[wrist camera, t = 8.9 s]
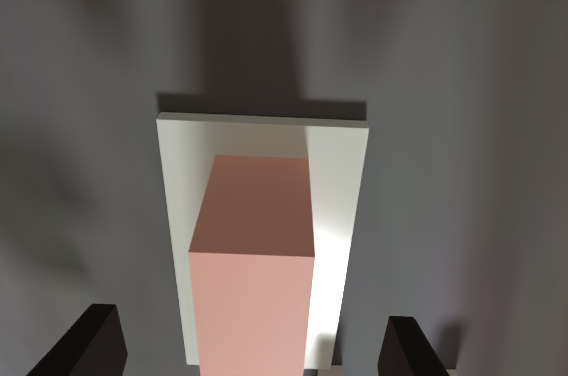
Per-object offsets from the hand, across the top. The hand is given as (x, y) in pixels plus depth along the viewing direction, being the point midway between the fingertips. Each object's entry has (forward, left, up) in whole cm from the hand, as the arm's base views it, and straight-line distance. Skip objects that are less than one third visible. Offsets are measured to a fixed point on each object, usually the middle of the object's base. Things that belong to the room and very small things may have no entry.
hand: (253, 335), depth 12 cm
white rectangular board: (0, +3, -6) cm, 7 cm away
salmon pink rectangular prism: (0, +3, -6) cm, 6 cm away
